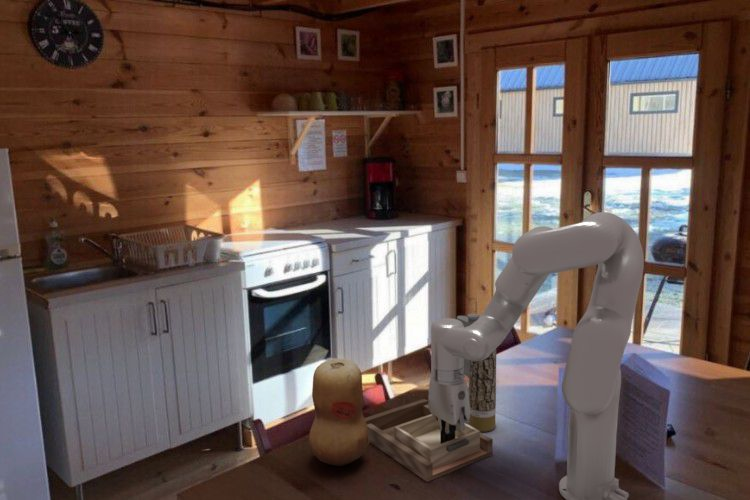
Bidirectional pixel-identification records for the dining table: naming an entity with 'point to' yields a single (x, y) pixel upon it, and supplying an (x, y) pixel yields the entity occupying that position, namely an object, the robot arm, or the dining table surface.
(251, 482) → the dining table surface
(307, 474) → the dining table surface
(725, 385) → the dining table surface
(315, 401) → the butternut squash
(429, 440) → the crate
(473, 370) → the wooden log
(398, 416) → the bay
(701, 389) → the dining table surface
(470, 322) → the hip flask
